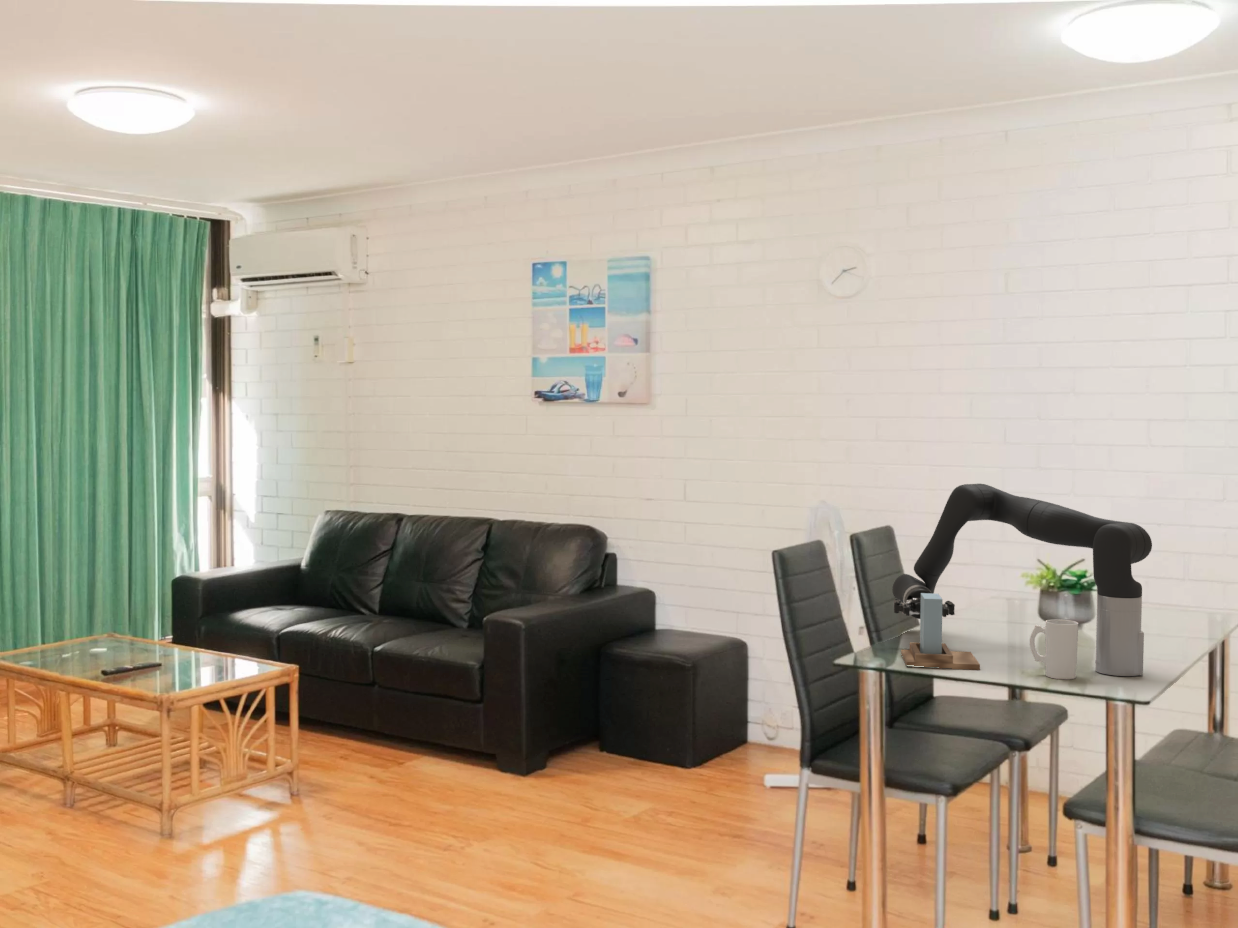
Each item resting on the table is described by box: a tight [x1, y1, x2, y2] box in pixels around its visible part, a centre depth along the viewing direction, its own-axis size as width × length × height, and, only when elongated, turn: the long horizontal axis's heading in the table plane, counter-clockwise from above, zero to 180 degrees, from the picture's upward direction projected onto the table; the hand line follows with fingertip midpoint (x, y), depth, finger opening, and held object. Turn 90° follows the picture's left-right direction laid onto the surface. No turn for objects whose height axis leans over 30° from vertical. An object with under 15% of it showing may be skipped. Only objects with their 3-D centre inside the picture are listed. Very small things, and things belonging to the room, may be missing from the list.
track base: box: [900, 641, 981, 671], centre depth 282 cm, size 16×15×3 cm
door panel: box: [919, 593, 944, 654], centre depth 282 cm, size 4×9×14 cm, turn 171°
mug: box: [1029, 619, 1079, 680], centre depth 267 cm, size 10×7×12 cm, turn 60°
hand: (926, 611), depth 289 cm, fingers open, 8 cm apart
